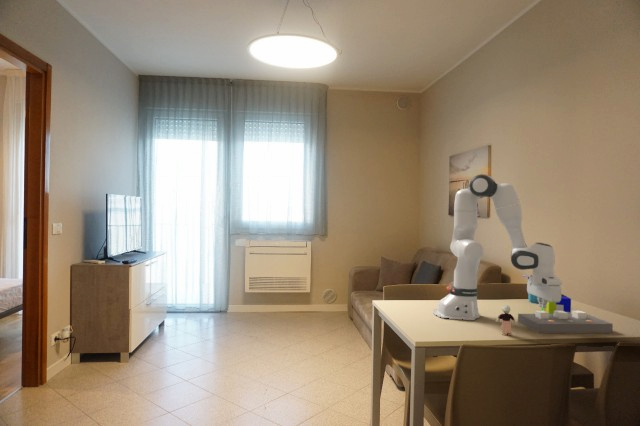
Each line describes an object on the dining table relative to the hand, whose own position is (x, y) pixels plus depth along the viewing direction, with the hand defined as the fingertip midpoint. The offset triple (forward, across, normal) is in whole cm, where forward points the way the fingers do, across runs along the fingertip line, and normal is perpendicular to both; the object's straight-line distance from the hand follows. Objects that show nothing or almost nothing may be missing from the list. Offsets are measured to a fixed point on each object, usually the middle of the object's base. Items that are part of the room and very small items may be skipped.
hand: (542, 307), depth 182 cm
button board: (+9, +2, +9) cm, 13 cm away
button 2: (+5, 0, +18) cm, 19 cm away
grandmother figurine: (+9, +12, -24) cm, 28 cm away
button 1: (+5, 0, 0) cm, 5 cm away
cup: (+9, -46, +24) cm, 52 cm away
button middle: (+5, 0, +9) cm, 10 cm away
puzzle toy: (+9, -18, +19) cm, 28 cm away
